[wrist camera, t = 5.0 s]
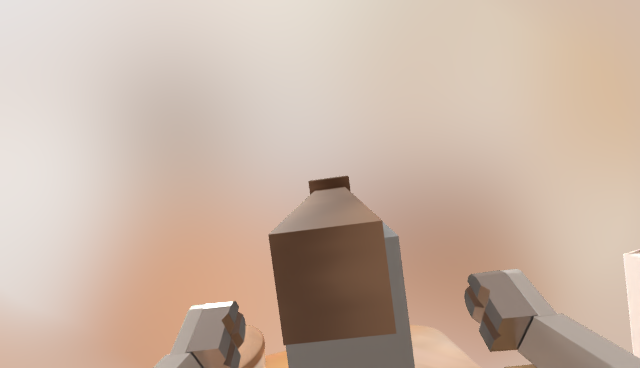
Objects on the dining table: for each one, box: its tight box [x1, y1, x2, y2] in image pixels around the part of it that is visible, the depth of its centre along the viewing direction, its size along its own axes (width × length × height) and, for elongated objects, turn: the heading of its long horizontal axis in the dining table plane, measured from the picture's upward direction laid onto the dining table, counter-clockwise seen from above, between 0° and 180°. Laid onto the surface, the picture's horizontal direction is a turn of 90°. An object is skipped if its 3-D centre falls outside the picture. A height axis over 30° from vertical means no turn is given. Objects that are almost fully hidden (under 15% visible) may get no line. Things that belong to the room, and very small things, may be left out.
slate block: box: [286, 221, 415, 368], centre depth 25 cm, size 8×14×26 cm, turn 177°
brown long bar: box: [269, 176, 396, 345], centre depth 19 cm, size 4×24×4 cm, turn 177°
